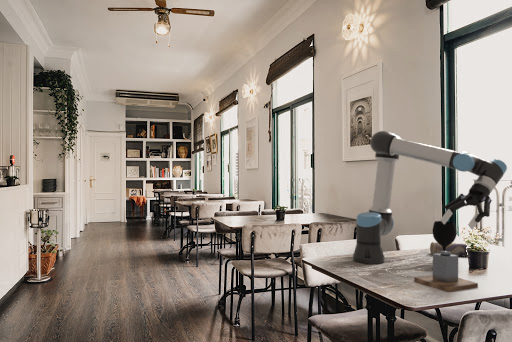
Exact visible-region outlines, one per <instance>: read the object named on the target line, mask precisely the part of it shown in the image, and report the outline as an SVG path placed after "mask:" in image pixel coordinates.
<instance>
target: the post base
mask: <svg viewBox="0 0 512 342" xmlns="http://www.w3.org/2000/svg"><path fill="white" fill-rule="evenodd" d="M414 282H417V283H418V284H419V283H420V284H423V285H426V286H429V287H432V288H434V289H438V290H440V291H444V292H447V293H450V292H451V293H452V292H457V291H458V292H459V291H464V290H469V289H474V288H476V289H477V288H478V286H479V283H478V282H476V281H471V280H468V279H464V278H461V277H458V281H457V282H451V283H444V282H441V281H438V280H435V279H433V274H428V275H420V276H414Z"/></svg>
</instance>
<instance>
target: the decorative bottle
mask: <svg viewBox="0 0 512 342" xmlns="http://www.w3.org/2000/svg"><path fill="white" fill-rule="evenodd" d="M466 244H467V243H454V242H452V243H451V244H450V245H448V246H447V247H446V250H445V251H449V252H451V254H453V255H457V256H458V257H459V256H460V257H467V252H466V247H467V245H468V244H467V245H466ZM429 250H430V251H429V252H430V254H431V255H432V256H433V254H436V253H440V252H441V251H443V247H442V246H441V245H440V244H439V243H437V242H434V241H432V242H431V243H430V245H429Z"/></svg>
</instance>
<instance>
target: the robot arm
mask: <svg viewBox="0 0 512 342" xmlns="http://www.w3.org/2000/svg"><path fill="white" fill-rule="evenodd" d="M369 143H370V147H371V150H372V151H373V152H375V155H374V158H375V159H376V160H377V164H376V174H375V181H374V182H375V183H374V193H373V199H372V206H371V207H370V208H368V211H366V212H361V213H359V214H357V216H356V221H355V222H356V244H355V248H354V252H353V254H352V260H353V262H355V263H357V262H358V263H361V264H370V265H371V264H373V265H375V264H383V263H385V255H384V251H383V247H382V237H383V236H386V235H388V234H389V233H391V232H392V230H393V228H394V225H395V224H394V223H395V222H394V219H393V210H392V209H391V202H392V201H391V199H392V192H393V191H392V190H393V185H394V184H393V182H394V174H395V168H396V167H395V166H396V163H397V161H399V160H400V159H399V158H400V156H401V157H405V158H410V159H413V160H418V161H420V162H426V163H429V164H434V165H438V166H441V167H445V168H450V169H453V170H457V171H459V172H464V173H465V172H468V173H470V174H473V175H475V176H477V179H476V180H475V181H474V182H473V184H472V185H471V187H470V188H469V190H468V193H467V194H465V195H464V194H463V193H460V194H459V195H458V196H457V197H456V198H455V199H453V200H452V201H450V202H448V203H447V204H446V205H444V209H445V211H444V213H443V215H442V217H441V218H440V221H442V223H443V224H445V223H446V222H447V221H448V222H449V219H450V218H451V217H452V215H454V214H453V212H455V211H458V210H460V209H461V208H464V207H467V206H474V207H476V208H477V212H475V214H474V215H473V217H472V218H471V219H470V221H469V223H468V224H467V225H468V227H469V228H470V229H471V230H474V229H475V227H476V225H478V224H479V223H480V222H481V220H483V218H485V217H486V218H488V217H490V213H491V202H492V201H493V200H492V198H491V197H490V195H491V193H492V192H493V191H494V189H495V188H496V186H497V185H498V184H499V182H500V181H501V179H502V178H503V177H504V175H505V174H506V171H507V169H508V167H507V164H506V163H505V161H503V160H501V159H496V158H495V159H491V160H489V161H488V160H486V159H483V158H481V157H478V156H476V155H474V154H471V153H470V152H468V151H464V150H463V151H461V152H459V151H455V150H452V149H447V148H443V147H439V146H438V147H437V146H433V145H429V144H424V143H420V142H415V141H411V140H407V139H402V138H401V137H400V136H399V135H398V134H397V133H394V132H390V131H385V130H379V131H377V132H375V133H373V135H372V136H371V138H370V142H369ZM482 203H483V208H482Z"/></svg>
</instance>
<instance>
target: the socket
mask: <svg viewBox="0 0 512 342" xmlns="http://www.w3.org/2000/svg"><path fill="white" fill-rule="evenodd" d="M432 275H433V279H435V280H438V281H441V282H444V283H451V282H457V281H458V278H459V256H457V255H453V254H451V252H449V251H441V252H440V253H436V254H433V255H432Z"/></svg>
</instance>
